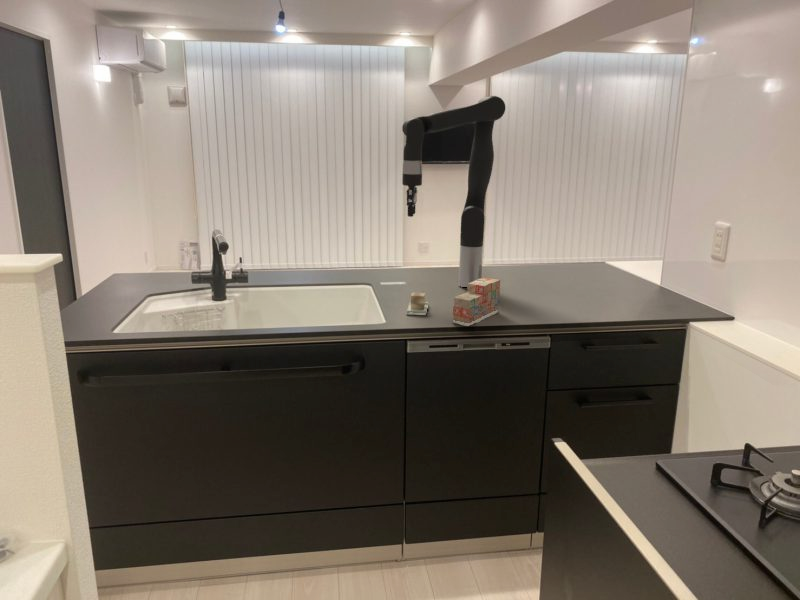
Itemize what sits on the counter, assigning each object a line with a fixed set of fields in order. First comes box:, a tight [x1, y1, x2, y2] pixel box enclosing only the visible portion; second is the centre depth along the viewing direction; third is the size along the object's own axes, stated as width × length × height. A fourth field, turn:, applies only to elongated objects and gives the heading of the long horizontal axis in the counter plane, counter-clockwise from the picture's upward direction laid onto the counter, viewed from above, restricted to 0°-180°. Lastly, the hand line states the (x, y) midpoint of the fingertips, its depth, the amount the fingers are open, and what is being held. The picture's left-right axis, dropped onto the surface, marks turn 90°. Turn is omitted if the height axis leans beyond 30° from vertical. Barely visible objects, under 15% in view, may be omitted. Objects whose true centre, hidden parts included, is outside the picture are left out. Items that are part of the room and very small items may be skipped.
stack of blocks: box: [452, 277, 501, 323], centre depth 201 cm, size 21×6×12 cm, turn 144°
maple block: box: [410, 292, 426, 310], centre depth 209 cm, size 5×5×5 cm
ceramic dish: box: [406, 300, 430, 313], centre depth 210 cm, size 7×12×2 cm, turn 174°
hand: (411, 215), depth 230 cm, fingers open, 8 cm apart
